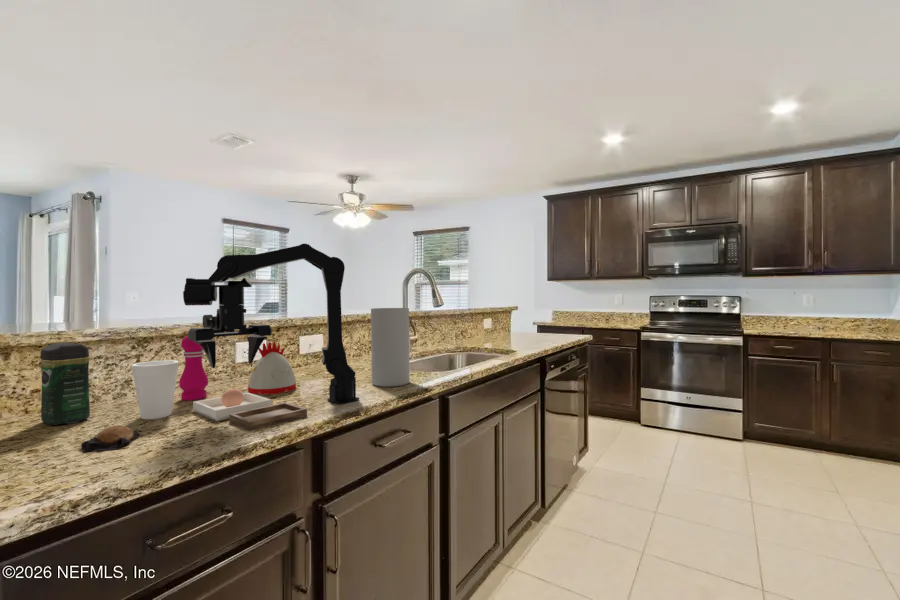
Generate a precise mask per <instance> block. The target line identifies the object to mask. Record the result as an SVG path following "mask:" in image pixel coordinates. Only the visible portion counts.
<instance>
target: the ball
mask: <svg viewBox="0 0 900 600" xmlns="http://www.w3.org/2000/svg"><path fill="white" fill-rule="evenodd" d="M242 393H243V392H242V391H241V390H240V389H238V388H229V389H227V390H226V391H224V392H223V393H222V396H221V397H222V403H223V405H224V406H225V407H232V406H237V405H240V404H241V403H242V401H243V394H242Z"/></svg>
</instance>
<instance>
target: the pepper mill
mask: <svg viewBox="0 0 900 600" xmlns="http://www.w3.org/2000/svg"><path fill="white" fill-rule="evenodd" d="M180 345H181V348H182V349H183V350H184V351H183V357H184V358H185V363H184V364H185V365H184V369H183V371H182V374H181V376H180V379H179V382H178V383H179V385H178V386H179V389H181V390H182V392H181V396H180V397H181V400H182V401H199V400H203V399H205V398H206V397H207V393H208V392H207V390H206V387H207V386H208V385H209V378H208V375H207V373H206V371H205V369H204V366H203V360H202V359H203V356H204V353H205V351H204V349H203V348H202V346H201V345H200V344H198V343H194V341H193V340H188V335H186V336H184V337H183V338H182V340H181V344H180Z"/></svg>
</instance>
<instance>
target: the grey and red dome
mask: <svg viewBox="0 0 900 600" xmlns="http://www.w3.org/2000/svg"><path fill="white" fill-rule="evenodd" d="M266 346H267V347H266ZM258 351H259V354H260V356H261V357H260V358H259V359H258V360H257V361H256V363H255V364H254V365H253V367H252V370H251V371H250V372H251V373H250V376H249V380H248V384H247V392H248V393H251V394H254V395H276V394H283V393H287V392H288V393H289V392H291V391H294V390H296V388H297V381H296V376H295V372H294V370H293V367H292V366H291V363H290V362H289V361H288V359H287V358H286V357H285V356H284V355H283V354H284V351H285V347H282V348H281V345H280V344H278V345H277V344H276V341H273V342H268V345H266V343H264V342H262V349H261V347H259V349H258Z"/></svg>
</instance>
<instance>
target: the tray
mask: <svg viewBox="0 0 900 600" xmlns="http://www.w3.org/2000/svg"><path fill="white" fill-rule="evenodd" d="M304 417H305V418H306V417H308V409H307V408H305V407H303V406H302V407H301V406H299V405H295V404H292V403H289V402H282V403H277V404H271V406H266V407H262V408H257V409H252V410H247V411H243V412H238V413H233V414H229V418H228V419H229V421H228V422H229V423H231V424H234V425H236V426H238V427H241V428H243V429H245V430H247V431H252V430H256V429H261V428H264V427H268V426H273V425H277V424H281V423H286V422H289V421H293V420H298V419H301V418H304Z"/></svg>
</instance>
